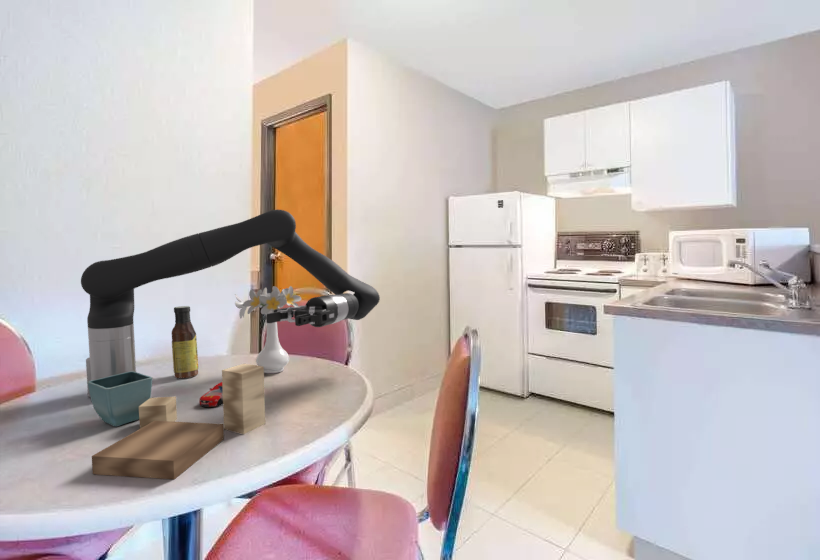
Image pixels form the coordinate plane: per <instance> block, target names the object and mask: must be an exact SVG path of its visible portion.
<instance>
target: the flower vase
mask: <svg viewBox="0 0 820 560" xmlns="http://www.w3.org/2000/svg"><path fill="white" fill-rule="evenodd" d="M234 295H235V298H236V300H237V301H235V302H234V305H235V307H236V308H237V309H240V310H239V319H242V318H245V313H246V310H247V315H250V314H251V313H252V312H253V310H255V309H257V308H261V310H260V313H261V314H262V315H265V316H266V315H267V314H268V313H274V310H275V309H282V308H284V306H285V305H287V306H289V307H299V306H300V305H299V304H297V302H300V301H302V297H301V296H300V295H297V294H294V288H293V286H292V285H289V287H286V288H284V289H282V290H281V291H280V289H279V288H278V286H275V285H274V286H272V291H271V292H268V289H267V287H264V288H263V290H262V289H259V290H258V291H257V293H256V292H255V291H254V290H253V289H250V290H249V293H248V295H249V296H248V297H249V298H250V299H247V300H245V301H244V300H242V299H241V298H240V297H239V296H238V294H234ZM248 307H249V308H248ZM278 333H279V331H278V322H274V323H267V322H266V335H265V336H266V339H265V343H264V346H263V348H262V350H260V352H259V353H258V354H257V357H256V359H255V363H256V365H257V366H263V367H264V374H278V373H281V372H283V371H284V370H285V367H286V366H288V363H290V356H289V354H288V352H287V351H286V350H285V349H284V348H283V347H282V345H281V343H280V340H279V334H278Z"/></svg>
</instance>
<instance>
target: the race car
mask: <svg viewBox="0 0 820 560" xmlns="http://www.w3.org/2000/svg"><path fill="white" fill-rule="evenodd" d="M198 401H199V403H198V404H199V406H200V407H204V408H205V407H207V408H208V407H209V408H212V407H218V408H219V407H221V406H223V387H222V381H221V382H219V383H217V384H215V385H213V387H210V388H209V391H207V392H206V393H204V394H203V395H201V396H200V397H199V400H198Z"/></svg>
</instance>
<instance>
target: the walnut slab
mask: <svg viewBox="0 0 820 560" xmlns="http://www.w3.org/2000/svg"><path fill="white" fill-rule="evenodd" d="M224 431H225V429H224V423H211V422H210V423H209V422H191V421H189V422H188V421H175V422H170V421H153V422H151V423H150V424H148V425H146V426H144V427H143V428H141V429H140V428H139V429H137V430H136V431H134V432H132V433H130V434H128V435H126V436H125V437H123V438H121V439H119V440H118V441H116V442H114V443H112V444H110V445H109V446H107V447H105V448H103V449H101V450H100V451H97V452H96V453H93V455H91V466H92V475H98V476H99V475H101V476H116V477H129V478H133V477H134V478H147V479H161V480H162V479H163V480H165V479H166V480H175V479H177V478H178V477H180V476H181V475H182V474H183V473H184V472H186V470H188V469H189V468H191V467H192V466H193V465H194V464H196V462H198V461H199V460H200V459H202V458H203V457H204V456H205V455H207V454H208V453H209V452H211V451H212V450H213V449H214V448H215V447H216V446H218V445H219V444H220V443H222V442H223V441H224V440H225V437H224V436H225V434H224Z"/></svg>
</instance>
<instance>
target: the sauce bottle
mask: <svg viewBox="0 0 820 560" xmlns="http://www.w3.org/2000/svg"><path fill="white" fill-rule="evenodd" d="M190 312H191V307H190V306H189V305H182V306H175V307H173V313H174V319H175V324H174V327H173V328H172V330H171V350H172V364H173V367H172V368H173V373H174V377H175V378H176V379H189V378H193V377H196V376H197V375H199V359H198V358H199V357H198V355H199V354H198V344H197V343H198V342H197V332H196V330H195V328H194V326H193V323H192V322H191V313H190Z"/></svg>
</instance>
